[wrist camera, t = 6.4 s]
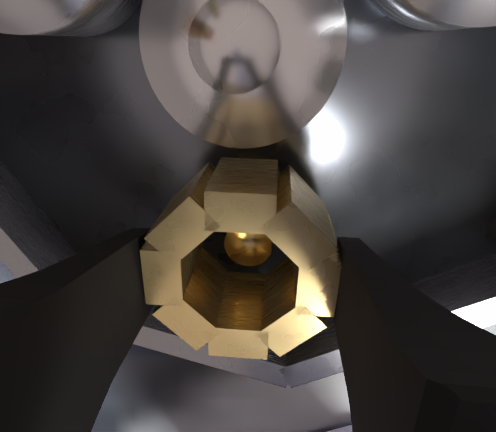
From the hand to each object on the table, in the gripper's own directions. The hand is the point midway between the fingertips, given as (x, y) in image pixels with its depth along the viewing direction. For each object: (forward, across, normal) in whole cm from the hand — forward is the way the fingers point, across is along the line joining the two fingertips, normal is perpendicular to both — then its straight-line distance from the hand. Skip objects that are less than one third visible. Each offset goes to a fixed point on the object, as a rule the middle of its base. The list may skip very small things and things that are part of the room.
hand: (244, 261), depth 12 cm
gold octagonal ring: (+2, 0, 0) cm, 2 cm away
